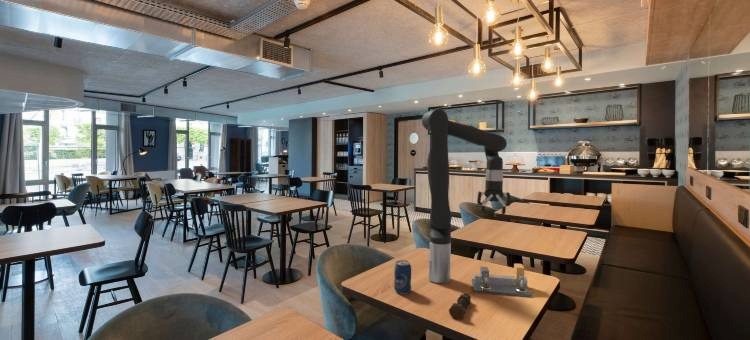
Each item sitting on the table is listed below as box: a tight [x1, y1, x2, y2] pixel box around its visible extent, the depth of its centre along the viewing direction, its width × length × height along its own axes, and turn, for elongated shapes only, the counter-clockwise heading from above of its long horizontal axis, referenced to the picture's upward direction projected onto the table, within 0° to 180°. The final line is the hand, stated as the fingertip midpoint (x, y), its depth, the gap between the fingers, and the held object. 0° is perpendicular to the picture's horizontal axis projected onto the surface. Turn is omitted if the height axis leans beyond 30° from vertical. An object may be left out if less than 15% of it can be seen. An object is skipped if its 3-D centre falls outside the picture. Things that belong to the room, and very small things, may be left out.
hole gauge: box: [471, 266, 533, 298], centre depth 142 cm, size 22×12×7 cm, turn 80°
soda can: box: [393, 260, 412, 295], centre depth 139 cm, size 7×7×12 cm
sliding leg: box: [513, 263, 526, 288], centre depth 142 cm, size 3×8×7 cm, turn 169°
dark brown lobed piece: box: [448, 293, 472, 321], centre depth 124 cm, size 6×5×15 cm
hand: (493, 214), depth 157 cm, fingers open, 8 cm apart
